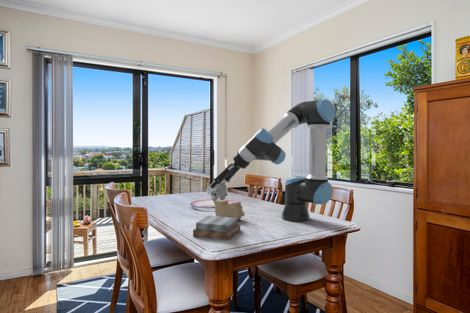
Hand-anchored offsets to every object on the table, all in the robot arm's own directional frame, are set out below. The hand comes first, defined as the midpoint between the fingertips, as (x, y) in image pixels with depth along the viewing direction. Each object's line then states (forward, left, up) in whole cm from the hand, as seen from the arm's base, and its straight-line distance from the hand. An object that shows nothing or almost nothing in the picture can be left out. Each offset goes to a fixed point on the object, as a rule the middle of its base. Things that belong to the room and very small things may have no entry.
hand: (211, 190), depth 146 cm
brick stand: (-3, 0, -20) cm, 20 cm away
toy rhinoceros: (-3, -1, -5) cm, 6 cm away
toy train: (+1, -28, -20) cm, 35 cm away
